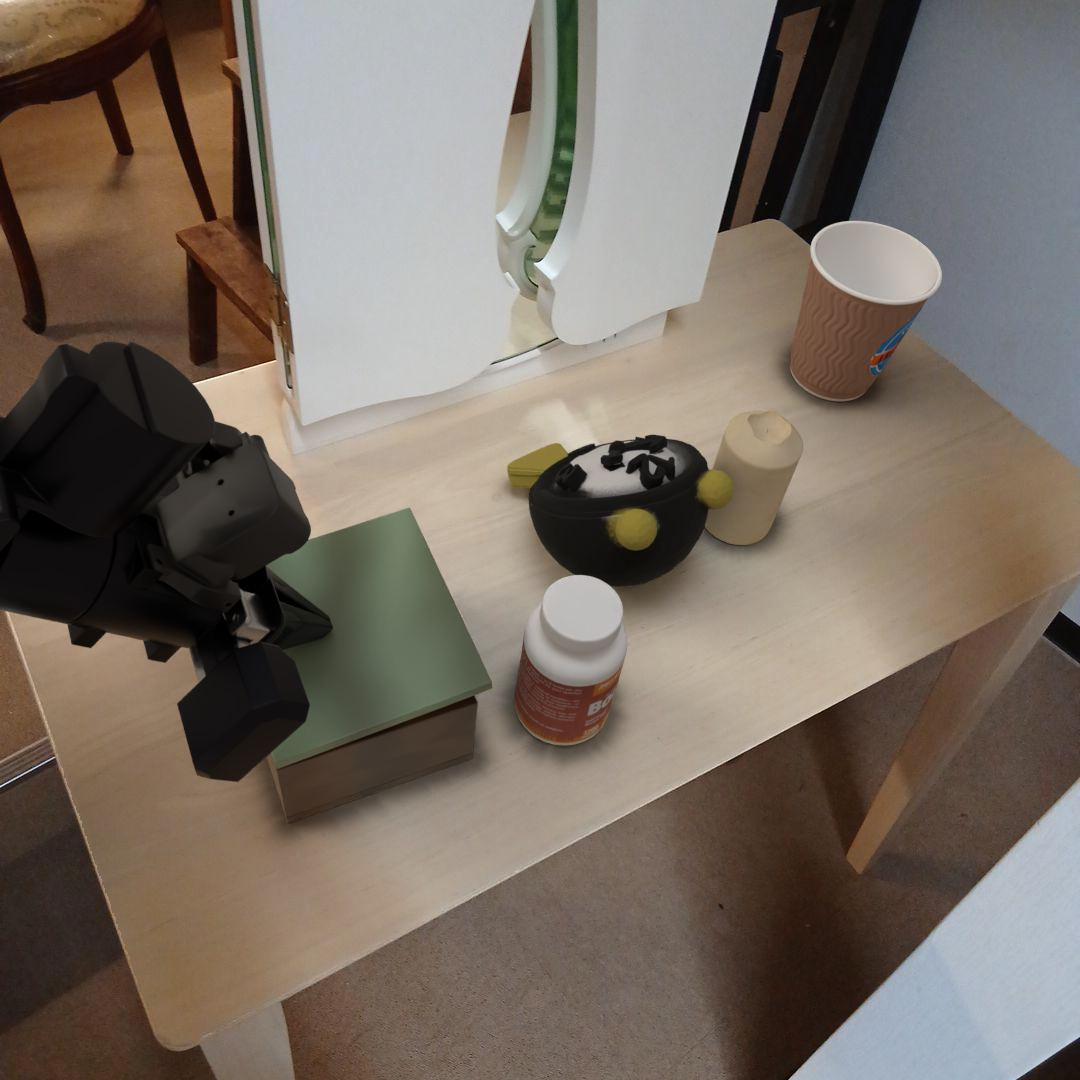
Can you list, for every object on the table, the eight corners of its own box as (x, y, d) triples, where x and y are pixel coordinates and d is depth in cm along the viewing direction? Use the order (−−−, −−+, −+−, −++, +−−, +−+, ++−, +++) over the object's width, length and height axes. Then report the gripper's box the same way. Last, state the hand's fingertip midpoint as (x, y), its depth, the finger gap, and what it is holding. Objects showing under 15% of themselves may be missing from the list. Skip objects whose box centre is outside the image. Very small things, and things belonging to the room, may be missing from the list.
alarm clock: (634, 506, 85) (757, 401, 74) (614, 661, 76) (750, 567, 66) (508, 440, 82) (618, 319, 71) (471, 595, 73) (591, 484, 62)
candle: (689, 530, 79) (720, 436, 72) (710, 481, 83) (741, 386, 75) (760, 556, 78) (799, 463, 71) (778, 505, 82) (817, 412, 74)
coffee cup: (874, 432, 88) (930, 318, 79) (756, 390, 90) (796, 273, 81) (898, 359, 94) (952, 245, 85) (787, 321, 96) (828, 205, 87)
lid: (410, 514, 67) (409, 506, 67) (492, 689, 60) (492, 682, 59) (216, 577, 64) (213, 569, 64) (277, 769, 57) (274, 763, 56)
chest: (399, 591, 73) (399, 528, 68) (472, 759, 66) (478, 703, 61) (230, 640, 70) (215, 577, 64) (287, 823, 62) (276, 770, 57)
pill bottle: (593, 762, 67) (621, 667, 58) (500, 731, 67) (514, 633, 59) (619, 682, 70) (648, 582, 62) (530, 653, 71) (547, 551, 63)
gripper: (238, 613, 41) (486, 677, 53) (141, 313, 51) (368, 424, 64) (73, 773, 45) (341, 799, 57) (13, 463, 55) (251, 541, 67)
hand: (326, 627), depth 61 cm, fingers closed
